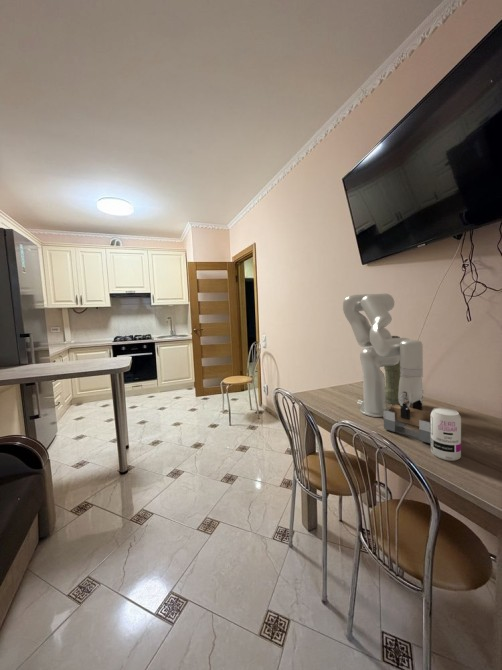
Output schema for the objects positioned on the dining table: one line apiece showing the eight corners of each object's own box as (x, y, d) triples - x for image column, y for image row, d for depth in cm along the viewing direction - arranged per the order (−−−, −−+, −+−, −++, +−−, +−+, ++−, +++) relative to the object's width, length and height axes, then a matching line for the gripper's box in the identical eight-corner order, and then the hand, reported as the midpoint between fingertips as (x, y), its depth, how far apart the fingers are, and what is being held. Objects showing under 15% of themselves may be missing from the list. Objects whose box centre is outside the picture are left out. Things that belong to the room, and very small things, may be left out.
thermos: (378, 400, 146) (377, 336, 143) (400, 399, 146) (400, 334, 143) (386, 405, 137) (385, 337, 134) (410, 404, 137) (409, 336, 134)
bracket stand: (382, 429, 111) (382, 409, 110) (392, 424, 115) (392, 405, 114) (434, 447, 95) (434, 423, 94) (444, 440, 99) (444, 417, 99)
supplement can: (447, 448, 94) (447, 406, 93) (467, 460, 86) (467, 415, 85) (425, 449, 94) (424, 407, 92) (442, 462, 85) (442, 417, 84)
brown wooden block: (390, 418, 109) (390, 406, 109) (395, 415, 112) (395, 404, 111) (429, 429, 98) (429, 416, 97) (433, 426, 100) (433, 413, 100)
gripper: (411, 367, 111) (412, 407, 112) (389, 374, 101) (390, 418, 103) (432, 369, 105) (432, 412, 106) (410, 377, 95) (411, 424, 96)
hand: (411, 415), depth 104 cm, fingers open, 9 cm apart
